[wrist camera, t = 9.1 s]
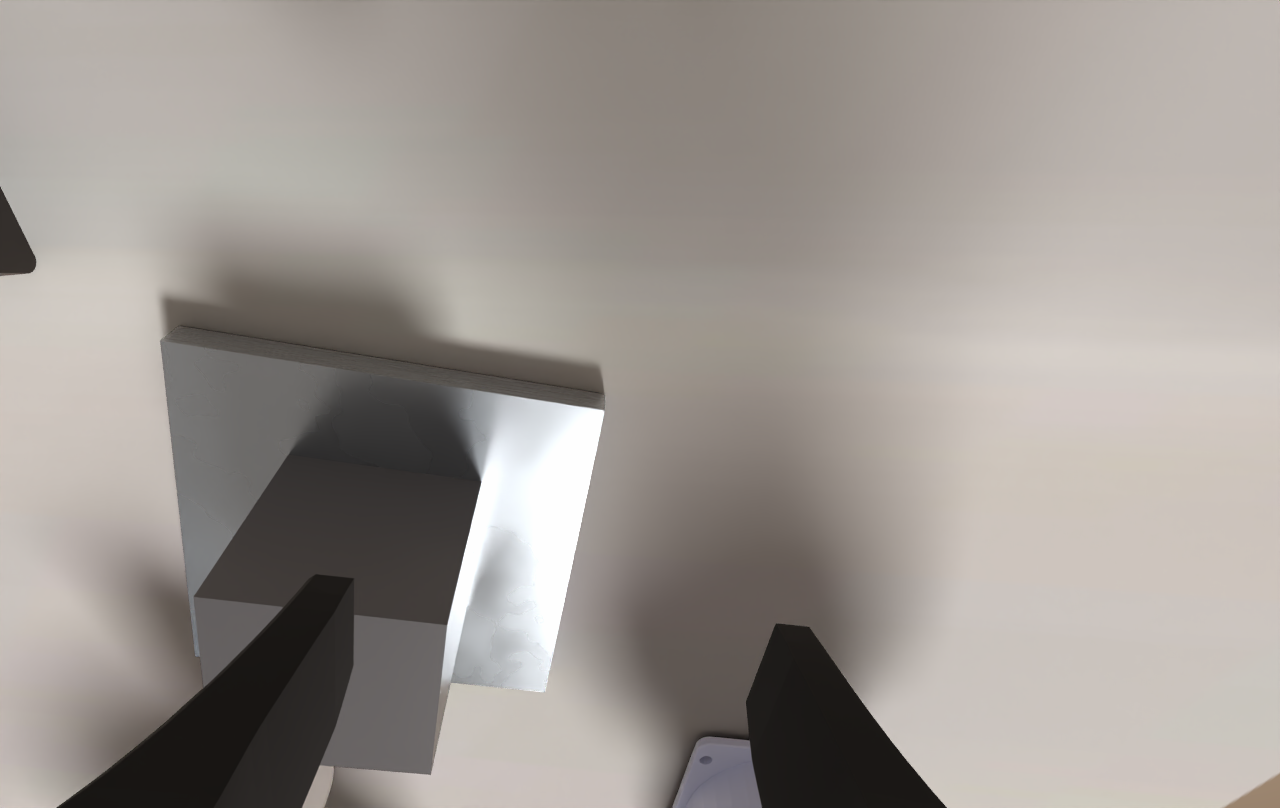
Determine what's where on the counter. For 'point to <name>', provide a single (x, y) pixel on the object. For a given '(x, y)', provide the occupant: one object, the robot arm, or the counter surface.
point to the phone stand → (13, 243)
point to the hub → (395, 439)
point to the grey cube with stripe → (357, 594)
